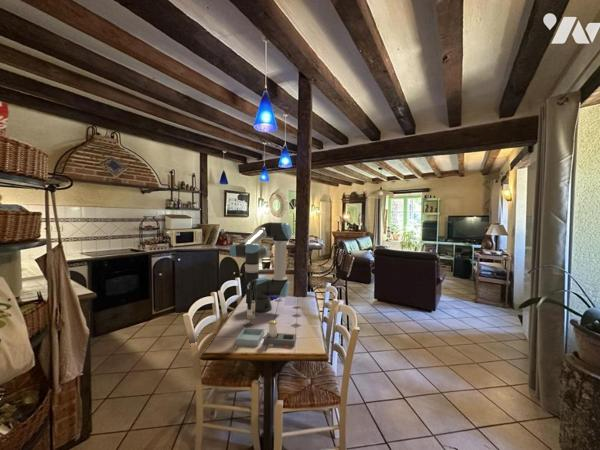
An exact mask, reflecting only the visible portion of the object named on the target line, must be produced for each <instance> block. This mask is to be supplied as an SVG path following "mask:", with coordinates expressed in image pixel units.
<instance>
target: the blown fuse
mask: <svg viewBox="0 0 600 450" xmlns="http://www.w3.org/2000/svg"><path fill="white" fill-rule="evenodd" d="M252 303H253V305H252V315H247V314H246V320H247V321H255V319H256V312H255V300H252Z"/></svg>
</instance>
